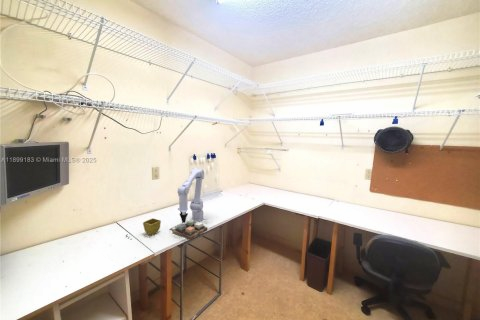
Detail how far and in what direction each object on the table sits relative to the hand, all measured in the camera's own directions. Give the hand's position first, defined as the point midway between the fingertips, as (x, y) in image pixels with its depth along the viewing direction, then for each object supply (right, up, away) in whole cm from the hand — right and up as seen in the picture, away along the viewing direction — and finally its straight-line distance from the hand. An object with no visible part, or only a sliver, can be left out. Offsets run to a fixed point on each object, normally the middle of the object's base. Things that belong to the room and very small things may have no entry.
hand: (183, 220), depth 145 cm
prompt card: (-7, -8, +9) cm, 14 cm away
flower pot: (-22, -9, -1) cm, 24 cm away
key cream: (+10, -6, +4) cm, 12 cm away
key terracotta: (+6, -7, -4) cm, 10 cm away
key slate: (-1, -6, 0) cm, 6 cm away
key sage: (+3, -5, +8) cm, 10 cm away
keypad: (+4, -9, +3) cm, 10 cm away
